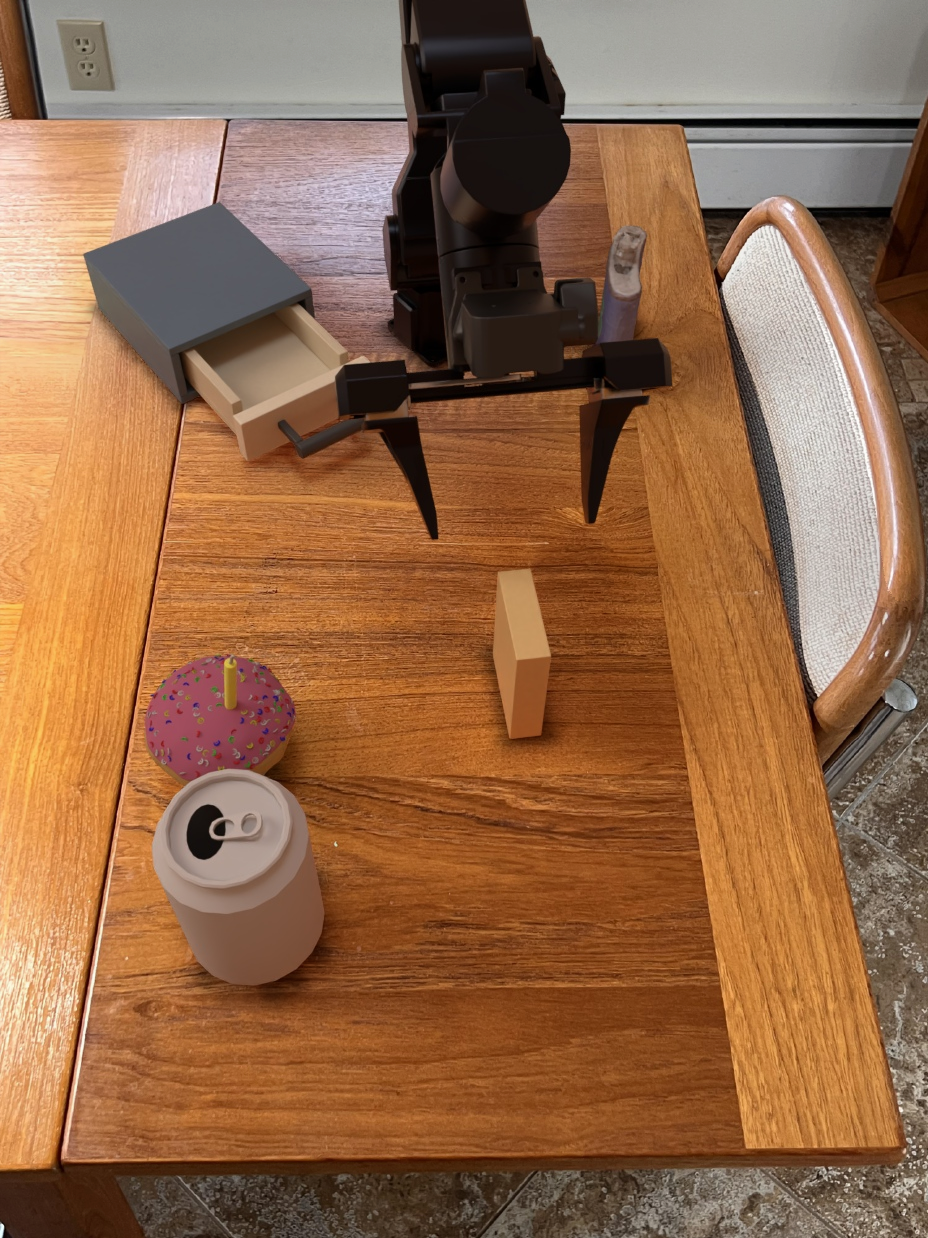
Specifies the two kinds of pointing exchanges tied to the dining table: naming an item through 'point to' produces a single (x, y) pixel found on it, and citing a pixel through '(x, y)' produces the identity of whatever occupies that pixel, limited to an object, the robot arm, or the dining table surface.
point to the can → (240, 875)
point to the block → (520, 653)
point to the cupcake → (218, 718)
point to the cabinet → (189, 287)
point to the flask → (622, 285)
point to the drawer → (273, 382)
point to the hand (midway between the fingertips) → (513, 531)
